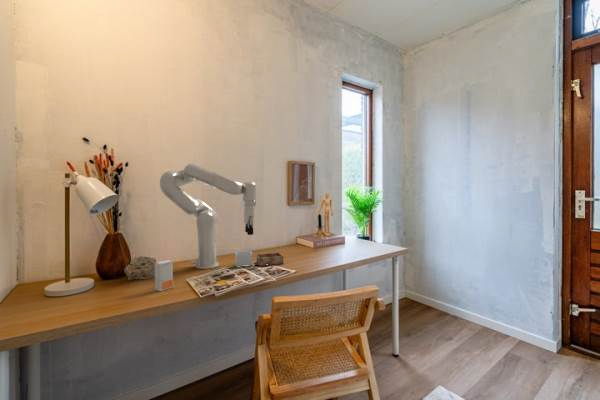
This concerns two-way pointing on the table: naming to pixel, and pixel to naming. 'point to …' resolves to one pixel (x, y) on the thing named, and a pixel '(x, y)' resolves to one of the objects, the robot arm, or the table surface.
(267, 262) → the crate large
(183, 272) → the table surface
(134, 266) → the rock
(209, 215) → the robot arm
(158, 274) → the skincare box
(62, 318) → the table surface
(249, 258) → the crate small
